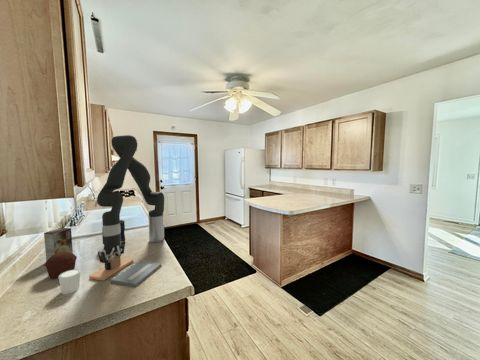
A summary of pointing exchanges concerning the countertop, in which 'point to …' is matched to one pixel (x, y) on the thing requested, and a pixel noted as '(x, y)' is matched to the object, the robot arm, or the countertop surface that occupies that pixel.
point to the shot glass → (69, 281)
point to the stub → (115, 265)
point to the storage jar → (122, 230)
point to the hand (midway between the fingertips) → (113, 266)
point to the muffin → (60, 264)
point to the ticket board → (136, 273)
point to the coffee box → (58, 241)
